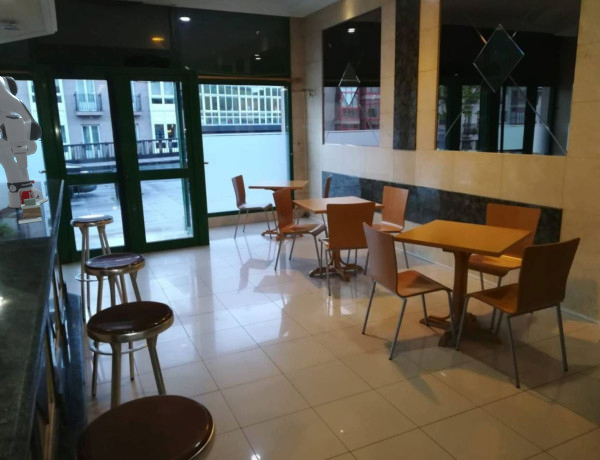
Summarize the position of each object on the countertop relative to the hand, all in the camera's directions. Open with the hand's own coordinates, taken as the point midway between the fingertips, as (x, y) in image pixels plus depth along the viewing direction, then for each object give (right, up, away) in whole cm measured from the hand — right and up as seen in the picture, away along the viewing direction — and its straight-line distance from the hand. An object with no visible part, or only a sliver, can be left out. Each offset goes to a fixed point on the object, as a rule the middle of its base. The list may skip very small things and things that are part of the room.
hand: (24, 175), depth 239 cm
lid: (+1, -15, +4) cm, 16 cm away
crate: (+1, -20, +5) cm, 21 cm away
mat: (+6, -23, -5) cm, 24 cm away
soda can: (-8, -18, +18) cm, 26 cm away
